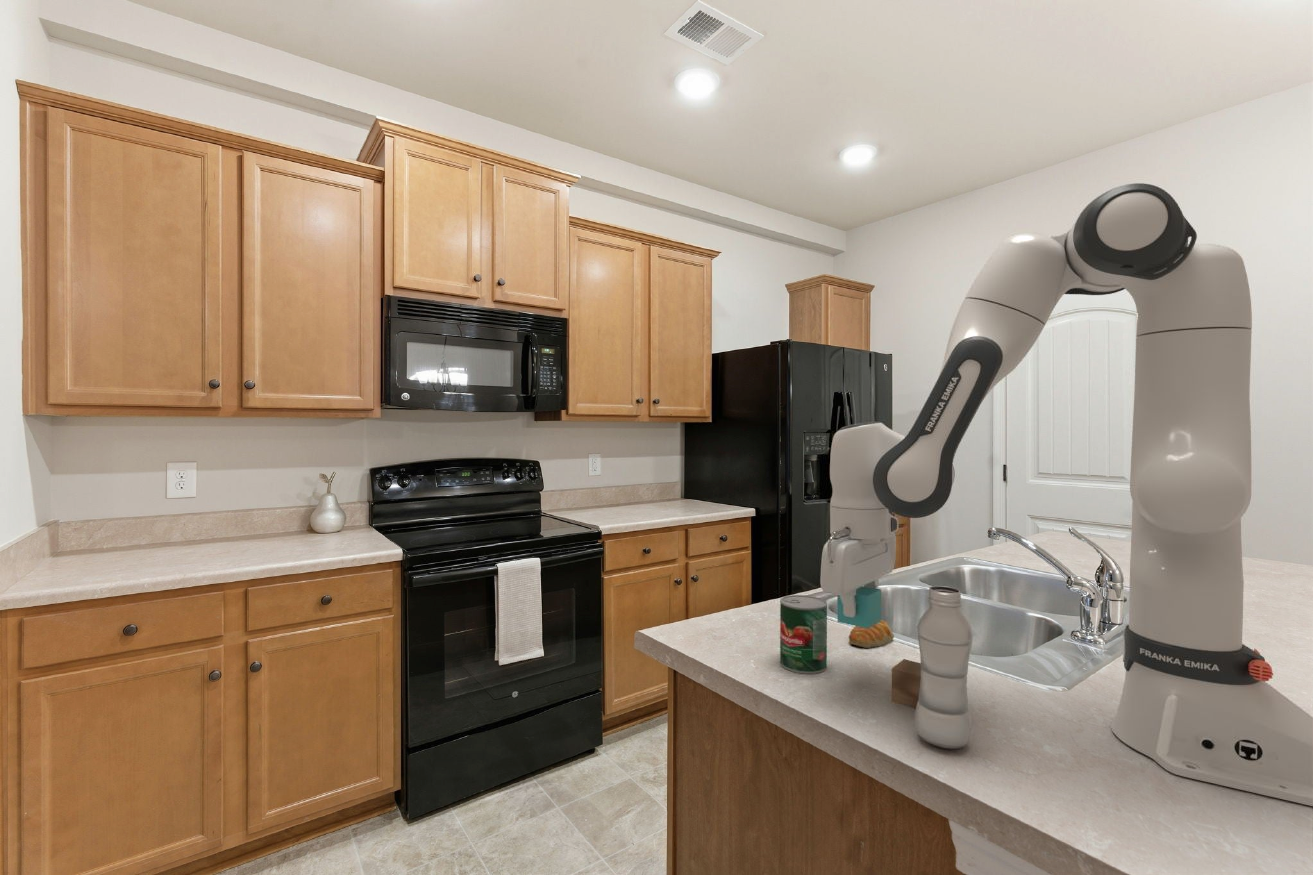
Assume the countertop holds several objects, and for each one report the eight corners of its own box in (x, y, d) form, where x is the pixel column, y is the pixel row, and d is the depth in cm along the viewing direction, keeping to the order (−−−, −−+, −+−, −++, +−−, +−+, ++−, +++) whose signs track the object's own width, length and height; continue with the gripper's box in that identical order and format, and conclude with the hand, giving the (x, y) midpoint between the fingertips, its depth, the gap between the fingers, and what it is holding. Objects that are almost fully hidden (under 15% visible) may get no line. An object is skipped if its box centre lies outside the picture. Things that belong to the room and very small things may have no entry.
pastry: (873, 653, 110) (873, 633, 110) (839, 644, 115) (839, 624, 115) (896, 641, 117) (896, 621, 117) (863, 632, 122) (863, 613, 122)
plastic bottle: (922, 724, 84) (924, 580, 83) (976, 741, 80) (979, 588, 79) (907, 743, 79) (909, 590, 78) (964, 762, 75) (967, 599, 74)
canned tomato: (830, 660, 107) (831, 598, 106) (822, 677, 100) (823, 610, 99) (785, 653, 110) (785, 592, 110) (774, 669, 103) (775, 604, 103)
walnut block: (937, 700, 91) (937, 667, 91) (926, 712, 88) (926, 677, 88) (903, 690, 95) (903, 658, 95) (891, 701, 91) (891, 668, 91)
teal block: (881, 620, 97) (881, 589, 97) (868, 628, 93) (868, 596, 93) (851, 614, 100) (850, 584, 100) (837, 621, 97) (837, 590, 97)
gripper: (849, 535, 87) (850, 631, 87) (902, 518, 102) (903, 601, 102) (809, 530, 91) (810, 622, 91) (865, 515, 106) (866, 594, 106)
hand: (859, 611), depth 97 cm, fingers closed on teal block, 5 cm apart
